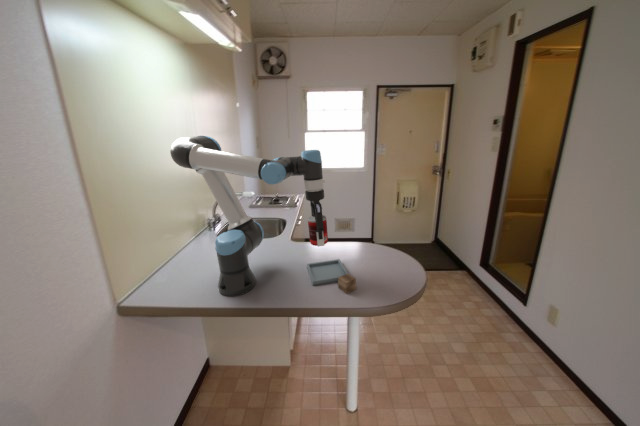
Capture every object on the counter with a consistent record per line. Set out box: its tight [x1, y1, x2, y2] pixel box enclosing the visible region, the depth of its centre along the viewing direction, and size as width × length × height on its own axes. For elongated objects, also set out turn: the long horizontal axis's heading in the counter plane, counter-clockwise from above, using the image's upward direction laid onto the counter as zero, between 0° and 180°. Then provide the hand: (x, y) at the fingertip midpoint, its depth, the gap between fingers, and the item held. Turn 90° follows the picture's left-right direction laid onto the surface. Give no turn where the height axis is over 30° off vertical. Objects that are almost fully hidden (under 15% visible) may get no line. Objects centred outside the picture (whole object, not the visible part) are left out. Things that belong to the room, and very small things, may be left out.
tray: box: [305, 258, 349, 287], centre depth 123 cm, size 16×16×2 cm
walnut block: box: [337, 273, 357, 295], centre depth 110 cm, size 5×5×5 cm
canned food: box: [307, 214, 329, 247], centre depth 116 cm, size 8×8×11 cm
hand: (319, 241), depth 117 cm, fingers closed on canned food, 8 cm apart
